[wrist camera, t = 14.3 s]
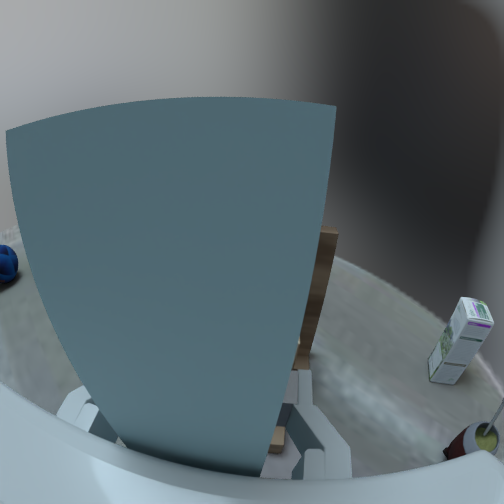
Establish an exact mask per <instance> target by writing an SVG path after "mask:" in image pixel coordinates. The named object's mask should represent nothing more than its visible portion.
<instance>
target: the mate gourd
mask: <svg viewBox="0 0 504 504" xmlns="http://www.w3.org/2000/svg"><path fill="white" fill-rule="evenodd" d="M502 401H503V402H502V404H501V405H500V407H499V409H498V410H497V412H496V414H495V415H494V417H493V419H492V420H491V422H485V421H481V422H477V423H474V424H471V425H470V426H468V427H467V428H465V429H464V430H463V431H462V432H461V433H460V434H459V435H458V436H457V437H456V438H455V439H454V440H453V441H452V442H451V444H450V445H449V447H448V448H445V449H444V450H443V453H444V454H445V456H446V457H447V458H448V460H451V459H455V458H458V457H461V456H464V455H467V454H470V453H472V452H475V451H478V450H486V451H488V452H489V453H491V454H492V455H493V456H494V455H495V454H496V452H497V449H498V446H499V443H500V435H499V432H498V429H497V428H496V427H495V426H494V425H493V423H494V422H495V420H496V418H497V417H498V415H499V414H500V412H501V410H502V409H503V407H504V398H503V400H502Z"/></svg>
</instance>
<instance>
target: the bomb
mask: <svg viewBox="0 0 504 504" xmlns="http://www.w3.org/2000/svg"><path fill="white" fill-rule="evenodd" d="M17 271H18V258H17V255H16V253H15V252H14V251H13V249H11V248H10V247H8V246H6V245H0V283H8V282H10V281H11V280H12V279H13V278H14V277H15V276H16V273H17Z"/></svg>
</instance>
